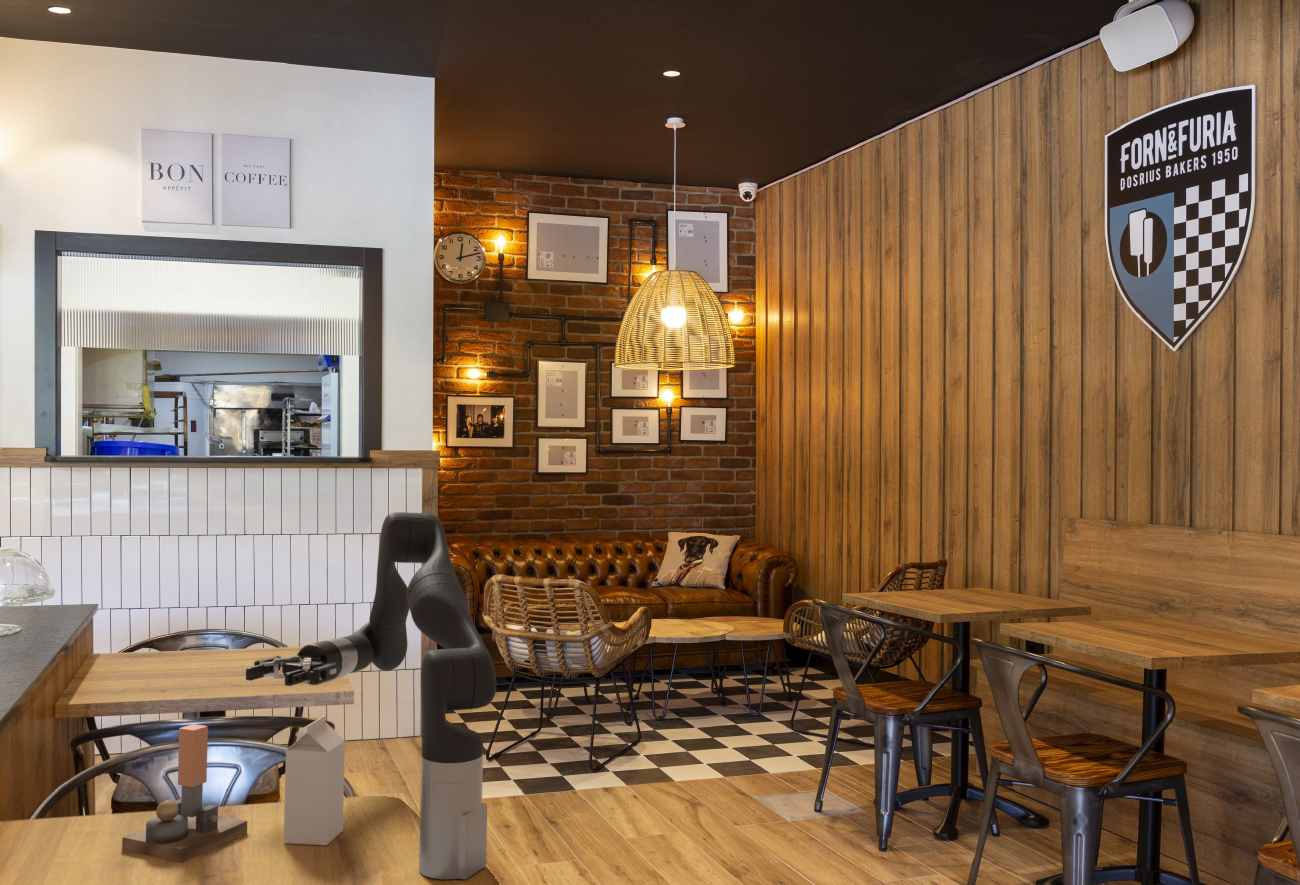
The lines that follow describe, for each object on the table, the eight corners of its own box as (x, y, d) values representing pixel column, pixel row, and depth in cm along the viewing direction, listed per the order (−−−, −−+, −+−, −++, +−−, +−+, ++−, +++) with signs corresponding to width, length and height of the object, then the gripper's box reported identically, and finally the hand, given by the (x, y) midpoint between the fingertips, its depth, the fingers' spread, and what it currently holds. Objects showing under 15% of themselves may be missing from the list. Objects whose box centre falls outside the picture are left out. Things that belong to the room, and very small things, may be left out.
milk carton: (343, 831, 180) (345, 716, 180) (326, 846, 173) (328, 727, 173) (301, 829, 181) (304, 714, 181) (283, 844, 174) (286, 725, 174)
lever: (205, 813, 176) (207, 726, 176) (191, 818, 173) (193, 730, 173) (191, 810, 177) (193, 724, 177) (177, 816, 174) (179, 728, 174)
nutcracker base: (247, 833, 178) (248, 786, 179) (181, 862, 166) (182, 811, 166) (190, 822, 183) (191, 776, 183) (122, 850, 170) (123, 800, 170)
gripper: (297, 636, 206) (235, 651, 191) (359, 644, 201) (300, 659, 186) (296, 676, 206) (233, 694, 191) (358, 684, 201) (299, 703, 186)
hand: (266, 677), depth 189 cm, fingers open, 8 cm apart
